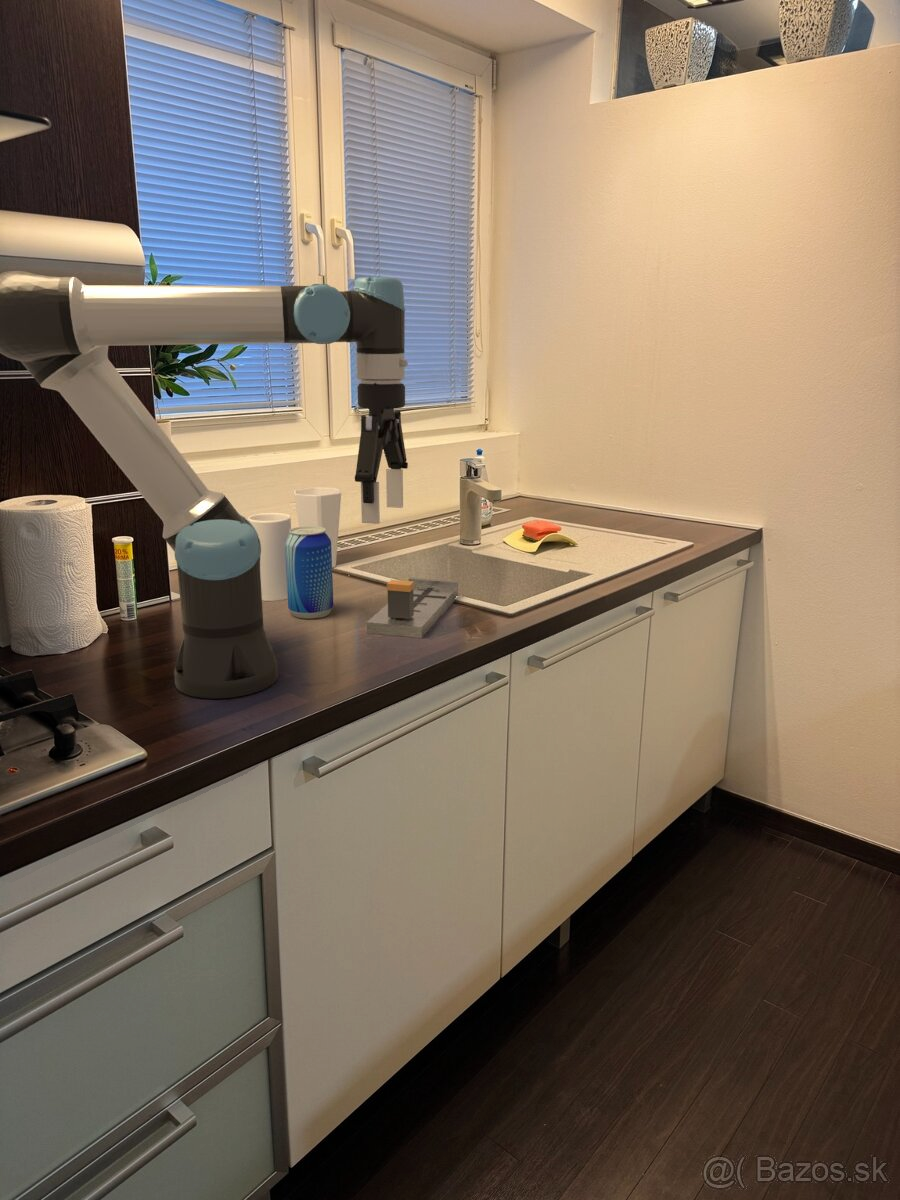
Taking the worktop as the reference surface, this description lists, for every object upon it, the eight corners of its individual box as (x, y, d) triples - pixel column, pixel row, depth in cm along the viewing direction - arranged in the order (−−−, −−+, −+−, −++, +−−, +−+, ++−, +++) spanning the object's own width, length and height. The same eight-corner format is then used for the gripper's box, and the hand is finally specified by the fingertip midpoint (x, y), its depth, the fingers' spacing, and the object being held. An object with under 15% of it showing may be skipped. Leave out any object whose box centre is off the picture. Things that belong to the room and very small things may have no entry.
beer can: (316, 603, 168) (312, 523, 164) (342, 613, 162) (340, 530, 158) (279, 612, 163) (275, 529, 158) (305, 623, 157) (301, 537, 152)
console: (421, 638, 149) (421, 620, 148) (367, 632, 152) (366, 615, 151) (458, 596, 173) (458, 581, 173) (410, 592, 176) (410, 577, 175)
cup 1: (285, 602, 169) (280, 522, 164) (246, 599, 171) (240, 520, 166) (300, 590, 177) (296, 513, 172) (262, 588, 178) (258, 511, 174)
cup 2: (311, 574, 189) (308, 497, 184) (287, 565, 196) (283, 490, 191) (353, 566, 196) (351, 491, 191) (328, 557, 203) (325, 485, 198)
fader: (410, 619, 152) (409, 585, 150) (387, 617, 153) (386, 583, 151) (414, 614, 154) (414, 581, 153) (391, 613, 155) (391, 579, 154)
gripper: (380, 386, 124) (383, 531, 130) (423, 378, 147) (424, 502, 153) (331, 385, 125) (335, 529, 131) (381, 378, 148) (383, 500, 155)
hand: (383, 515), depth 142 cm, fingers open, 13 cm apart
